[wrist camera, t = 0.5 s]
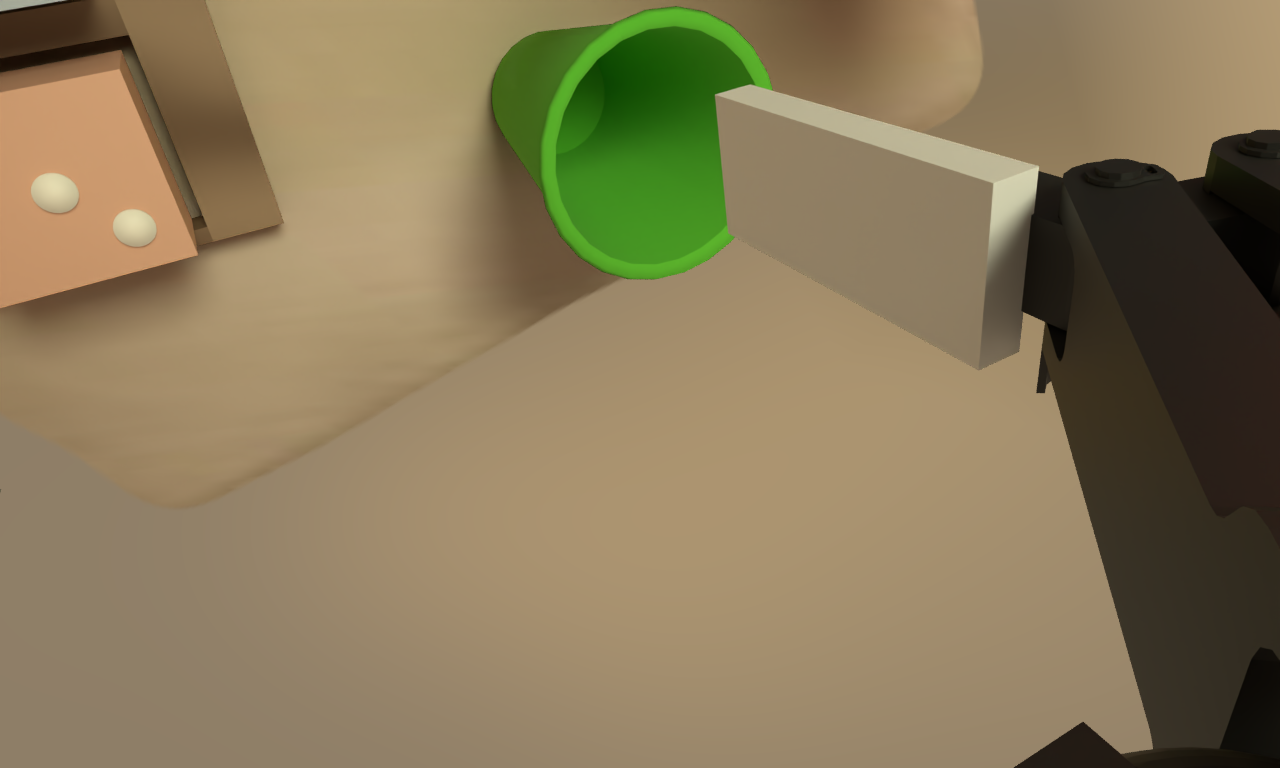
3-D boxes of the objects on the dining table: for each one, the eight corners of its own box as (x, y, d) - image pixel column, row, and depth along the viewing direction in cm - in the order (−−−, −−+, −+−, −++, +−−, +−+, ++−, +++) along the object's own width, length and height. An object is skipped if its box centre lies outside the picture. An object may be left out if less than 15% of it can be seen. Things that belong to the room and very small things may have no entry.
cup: (505, 234, 40) (608, 328, 31) (402, 45, 34) (492, 97, 25) (666, 134, 41) (806, 198, 32) (592, -62, 35) (737, -46, 27)
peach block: (-90, 89, 27) (-121, 117, 24) (121, 49, 29) (119, 70, 25) (8, 266, 30) (-6, 311, 27) (191, 219, 32) (198, 256, 29)
